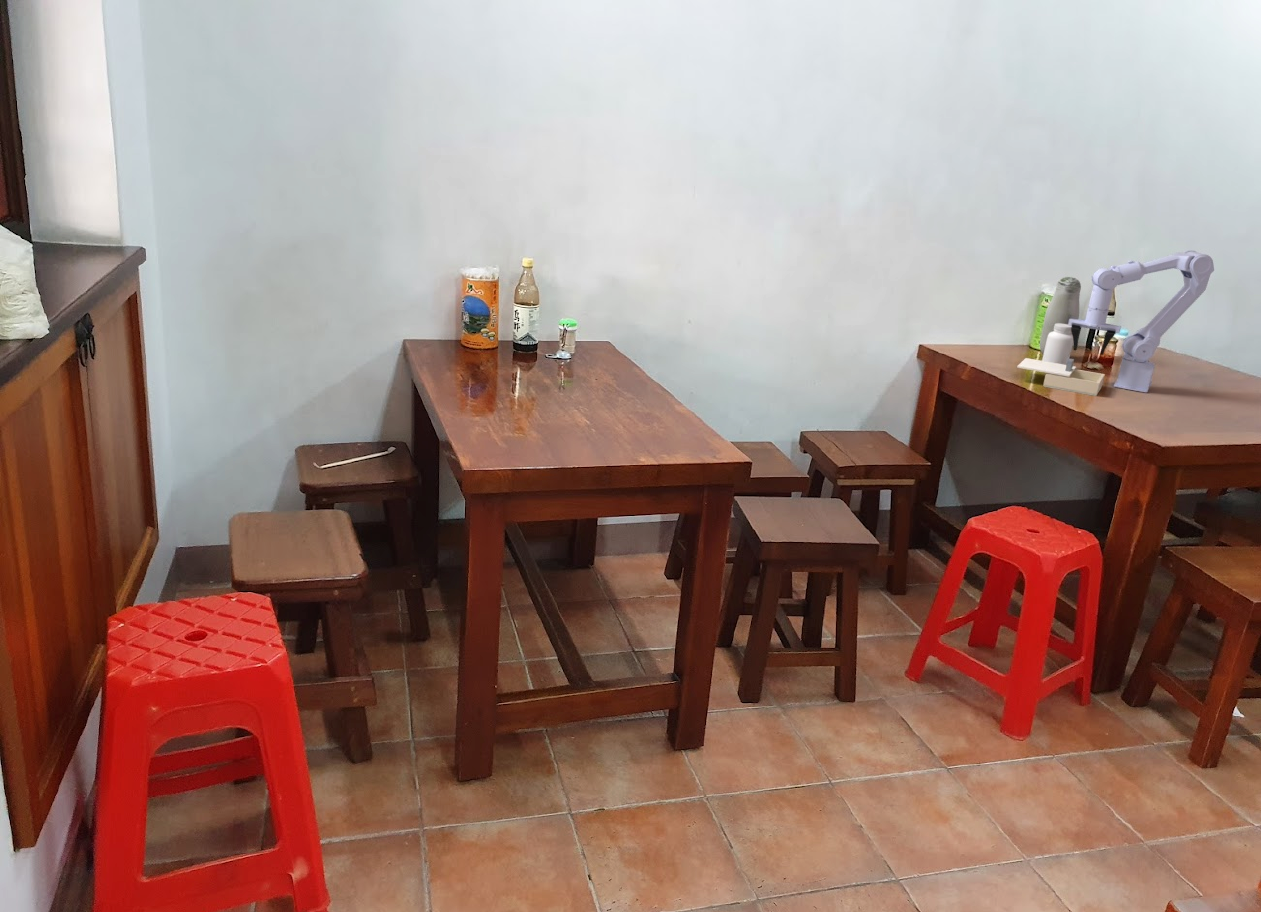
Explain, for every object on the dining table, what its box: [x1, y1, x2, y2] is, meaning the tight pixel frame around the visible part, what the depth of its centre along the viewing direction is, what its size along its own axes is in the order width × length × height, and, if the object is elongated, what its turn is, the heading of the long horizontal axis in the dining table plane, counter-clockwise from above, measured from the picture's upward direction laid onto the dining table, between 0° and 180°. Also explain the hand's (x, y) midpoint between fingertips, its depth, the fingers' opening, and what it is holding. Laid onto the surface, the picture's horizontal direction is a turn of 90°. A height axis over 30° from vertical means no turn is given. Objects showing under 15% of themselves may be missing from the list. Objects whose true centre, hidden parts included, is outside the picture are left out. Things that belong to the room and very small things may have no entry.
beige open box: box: [1042, 368, 1106, 397], centre depth 293 cm, size 15×14×4 cm
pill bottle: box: [1041, 323, 1074, 365], centre depth 310 cm, size 8×8×15 cm
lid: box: [1016, 357, 1077, 377], centre depth 295 cm, size 15×14×4 cm
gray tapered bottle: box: [1039, 276, 1082, 355], centre depth 324 cm, size 10×10×28 cm
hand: (1088, 352), depth 295 cm, fingers open, 7 cm apart
